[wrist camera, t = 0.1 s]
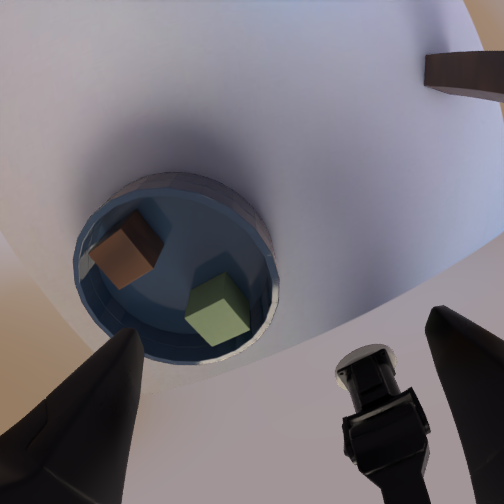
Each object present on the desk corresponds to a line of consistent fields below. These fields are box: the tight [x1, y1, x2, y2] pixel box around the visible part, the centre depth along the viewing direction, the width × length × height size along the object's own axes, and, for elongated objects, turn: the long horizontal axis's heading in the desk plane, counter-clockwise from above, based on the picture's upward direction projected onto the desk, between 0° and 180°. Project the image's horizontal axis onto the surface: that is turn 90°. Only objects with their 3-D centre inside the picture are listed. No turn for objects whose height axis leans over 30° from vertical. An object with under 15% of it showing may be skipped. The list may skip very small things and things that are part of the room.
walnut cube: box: [88, 209, 164, 290], centre depth 24 cm, size 4×4×4 cm
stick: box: [424, 51, 504, 103], centre depth 13 cm, size 3×3×15 cm
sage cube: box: [184, 272, 250, 347], centre depth 27 cm, size 4×4×4 cm
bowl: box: [73, 172, 280, 365], centre depth 26 cm, size 17×17×4 cm
